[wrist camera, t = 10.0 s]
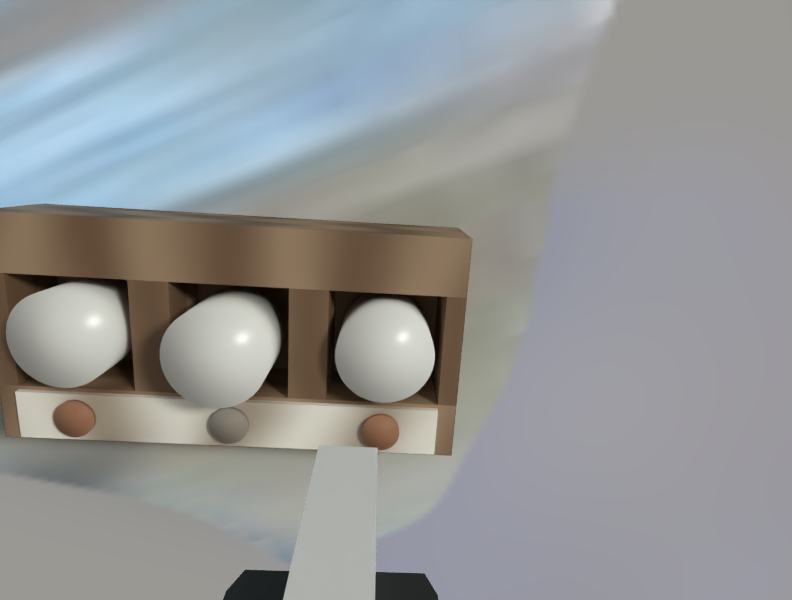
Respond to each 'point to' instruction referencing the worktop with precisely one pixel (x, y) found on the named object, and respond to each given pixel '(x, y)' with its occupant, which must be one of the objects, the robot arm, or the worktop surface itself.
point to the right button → (384, 347)
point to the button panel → (222, 268)
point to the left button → (71, 331)
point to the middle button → (223, 347)
